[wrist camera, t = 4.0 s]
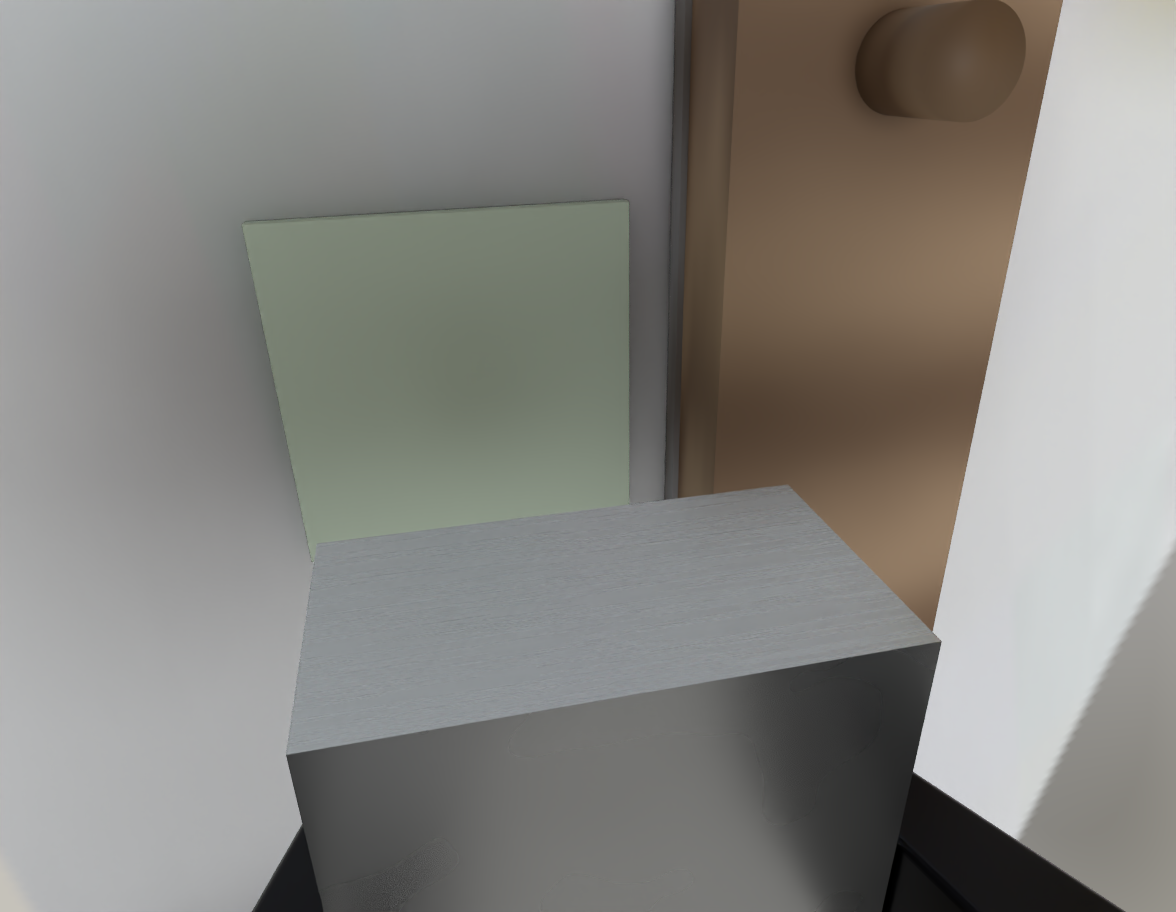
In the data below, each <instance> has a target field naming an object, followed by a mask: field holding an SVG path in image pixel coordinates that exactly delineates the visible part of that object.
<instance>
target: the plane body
mask: <svg viewBox="0 0 1176 912" xmlns="http://www.w3.org/2000/svg"><path fill="white" fill-rule="evenodd" d="M1062 2H1063V0H676V10H675V56H674V102H673V148H672V194H671V240H670V286H669V332H668V378H667V424H666V470H665V500H669V499H677V498H685V497H693V496H701V495H709V494H717V493H725V492H733V491H741V490H749V489H757V488H765V487H773V486H781V485H789V486H790V487H791V488H792V489H793V490H794V491H795V492H796V493H797V494H798V495H799V496H800V497H801V498H802V500H803V501H804V502H805V503H806V504H807V505H808V506H809V507H810V508H811V509H812V510H813V511H814V512H815V513H816V514H817V515H818V516H819V517H820V518H821V519H822V520H823V521H824V522H825V523H826V524H827V525H828V526H829V527H830V528H831V529H832V530H833V531H834V532H835V533H836V534H837V535H838V536H839V537H840V538H841V539H842V540H843V541H844V542H845V543H846V544H847V545H848V546H849V547H850V548H851V549H852V550H853V552H854V553H855V554H856V555H857V556H858V557H859V558H860V559H861V560H862V561H863V562H864V563H865V564H866V565H867V566H868V567H869V568H870V569H871V570H872V571H873V572H874V573H875V574H876V575H877V576H878V577H879V578H880V579H881V580H882V581H883V582H884V583H885V584H886V585H887V586H888V587H889V588H890V589H891V590H892V591H893V592H894V593H895V594H896V595H897V596H898V597H899V598H900V599H901V600H902V601H903V602H904V603H905V605H906V606H907V607H908V608H909V609H910V610H911V611H912V612H913V613H914V614H915V615H916V616H917V617H918V618H919V619H920V620H921V621H922V622H923V623H924V624H925V625H926V626H927V627H928V628H929V629H930V630H931V631H933V626H934V621H935V617H936V612H937V607H938V602H939V597H940V592H941V588H942V583H943V578H944V573H945V568H946V563H947V558H948V554H949V549H950V544H951V539H952V534H953V529H954V525H955V520H956V515H957V510H958V505H959V500H960V496H961V491H962V486H963V481H964V476H965V471H966V467H967V462H968V457H969V452H970V447H971V442H972V438H973V433H974V428H975V423H976V418H977V413H978V409H979V404H980V399H981V394H982V389H983V384H984V380H985V375H986V370H987V365H988V360H989V355H990V351H991V346H992V341H993V336H994V331H995V326H996V322H997V317H998V312H999V307H1000V302H1001V297H1002V293H1003V288H1004V283H1005V278H1006V273H1007V268H1008V264H1009V259H1010V254H1011V249H1012V244H1013V239H1014V235H1015V230H1016V225H1017V220H1018V215H1019V210H1020V205H1021V201H1022V196H1023V191H1024V186H1025V181H1026V176H1027V172H1028V167H1029V162H1030V157H1031V152H1032V147H1033V143H1034V138H1035V133H1036V128H1037V123H1038V118H1039V114H1040V109H1041V104H1042V99H1043V94H1044V89H1045V85H1046V80H1047V75H1048V70H1049V65H1050V60H1051V56H1052V51H1053V46H1054V41H1055V36H1056V31H1057V27H1058V22H1059V17H1060V12H1061V7H1062Z"/></svg>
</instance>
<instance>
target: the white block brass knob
mask: <svg viewBox="0 0 1176 912" xmlns="http://www.w3.org/2000/svg"><path fill="white" fill-rule="evenodd" d="M941 642H942V641H941V640H940V639H939V638H938V637H937V636H936V635H935V634H934V633H933V632H932V631H931V630H930V629H929V628H928V627H927V626H926V625H925V624H924V623H923V622H922V621H921V620H920V619H919V618H918V617H917V616H916V615H915V614H914V613H913V612H912V611H911V610H910V609H909V608H908V607H907V606H906V605H905V603H904V602H903V601H902V600H901V599H900V598H899V597H898V596H897V595H896V594H895V593H894V592H893V591H892V590H891V589H890V588H889V587H888V586H887V585H886V584H885V583H884V582H883V581H882V580H881V579H880V578H879V577H878V576H877V575H876V574H875V573H874V572H873V571H872V570H871V569H870V568H869V567H868V566H867V565H866V564H865V563H864V562H863V561H862V560H861V559H860V558H859V557H858V556H857V555H856V554H855V553H854V552H853V550H852V549H851V548H850V547H849V546H848V545H847V544H846V543H845V542H844V541H843V540H842V539H841V538H840V537H839V536H838V535H837V534H836V533H835V532H834V531H833V530H832V529H831V528H830V527H829V526H828V525H827V524H826V523H825V522H824V521H823V520H822V519H821V518H820V517H819V516H818V515H817V514H816V513H815V512H814V511H813V510H812V509H811V508H810V507H809V506H808V505H807V504H806V503H805V502H804V501H803V500H802V498H801V497H800V496H799V495H798V494H797V493H796V492H795V491H794V490H793V489H792V488H791V487H790V486H789V485H781V486H773V487H765V488H757V489H749V490H741V491H733V492H725V493H717V494H709V495H701V496H693V497H685V498H677V499H669V500H661V501H653V502H645V503H637V504H629V505H621V506H613V507H605V508H597V509H589V510H581V511H573V512H565V513H557V514H549V515H541V516H533V517H525V518H517V519H509V520H501V521H493V522H485V523H477V524H469V525H461V526H453V527H445V528H437V529H429V530H421V531H413V532H405V533H397V534H389V535H381V536H373V537H365V538H357V539H349V540H341V541H333V542H325V543H317V545H316V552H315V559H314V566H313V573H312V580H311V587H310V594H309V601H308V607H307V614H306V621H305V628H304V635H303V642H302V649H301V656H300V663H299V669H298V676H297V683H296V690H295V697H294V704H293V711H292V718H291V725H290V731H289V738H288V745H287V752H286V757H287V761H288V765H289V769H290V773H291V778H292V782H293V786H294V790H295V794H296V798H297V803H298V807H299V811H300V815H301V819H302V823H303V828H304V832H305V836H306V840H307V844H308V848H309V853H310V857H311V861H312V865H313V869H314V873H315V878H316V882H317V886H318V890H319V894H320V898H321V903H322V907H323V911H324V912H882V908H883V904H884V899H885V895H886V890H887V886H888V881H889V877H890V872H891V868H892V863H893V859H894V854H895V850H896V845H897V840H898V836H899V831H900V827H901V822H902V818H903V813H904V809H905V804H906V800H907V795H908V791H909V786H910V782H911V777H912V773H913V768H914V764H915V759H916V755H917V750H918V746H919V741H920V737H921V732H922V728H923V723H924V719H925V714H926V709H927V705H928V700H929V696H930V691H931V687H932V682H933V678H934V673H935V669H936V664H937V660H938V655H939V651H940V646H941Z"/></svg>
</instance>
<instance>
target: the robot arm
mask: <svg viewBox="0 0 1176 912" xmlns="http://www.w3.org/2000/svg"><path fill="white" fill-rule="evenodd" d="M252 912H324V911H323V907H322V903H321V898H320V894H319V890H318V886H317V882H316V878H315V873H314V869H313V865H312V861H311V857H310V853H309V848H308V844H307V840H306V836H305V832H304V828H303V824H302V825H301V827H300V829H299V831H298V832H297V834H296V836H295V838H294V839H293V841H292V843H291V845H290V846H289V848H288V850H287V852H286V853H285V855H284V857H283V859H282V860H281V862H280V864H279V866H278V867H277V869H276V871H275V873H274V874H273V876H272V878H271V879H270V881H269V883H268V885H267V886H266V888H265V890H264V892H263V893H262V895H261V897H260V899H259V900H258V902H257V904H256V906H255V907H254V909H253V911H252ZM882 912H1125V911H1124V910H1122V909H1121V908H1119V907H1117V906H1116V905H1115V904H1113V903H1111V902H1110V901H1109V900H1107V899H1105V898H1104V897H1102V896H1101V895H1099V894H1098V893H1096V892H1095V891H1093V890H1092V889H1090V888H1089V887H1087V886H1086V885H1084V884H1083V883H1081V882H1080V881H1078V880H1077V879H1075V878H1074V877H1072V876H1070V875H1069V874H1068V873H1066V872H1064V871H1063V870H1061V869H1060V868H1058V867H1057V866H1055V865H1054V864H1052V863H1051V862H1049V861H1048V860H1046V859H1045V858H1043V857H1042V856H1040V855H1039V854H1037V853H1036V852H1034V851H1032V850H1031V849H1030V848H1028V847H1026V846H1025V845H1023V844H1022V843H1020V842H1019V841H1017V840H1016V839H1014V838H1013V837H1011V836H1010V835H1008V834H1007V833H1005V832H1004V831H1002V830H1001V829H999V828H998V827H996V826H995V825H993V824H992V823H990V822H988V821H987V820H985V819H984V818H982V817H981V816H979V815H978V814H976V813H975V812H973V811H972V810H970V809H969V808H967V807H966V806H964V805H963V804H961V803H960V802H958V801H957V800H955V799H954V798H952V797H951V796H949V795H947V794H946V793H944V792H943V791H941V790H940V789H938V788H937V787H935V786H934V785H932V784H931V783H929V782H928V781H926V780H925V779H923V778H922V777H920V776H919V775H917V774H916V773H914V772H913V773H912V777H911V782H910V786H909V791H908V795H907V800H906V804H905V809H904V813H903V818H902V822H901V827H900V831H899V836H898V840H897V845H896V850H895V854H894V859H893V863H892V868H891V872H890V877H889V881H888V886H887V890H886V895H885V899H884V904H883V908H882Z"/></svg>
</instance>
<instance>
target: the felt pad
mask: <svg viewBox="0 0 1176 912" xmlns="http://www.w3.org/2000/svg"><path fill="white" fill-rule="evenodd" d="M242 229H243V234H244V239H245V244H246V249H247V253H248V258H249V263H250V268H251V273H252V277H253V282H254V287H255V292H256V297H257V301H258V306H259V311H260V316H261V321H262V325H263V330H264V335H265V340H266V345H267V350H268V354H269V359H270V364H271V369H272V374H273V378H274V383H275V388H276V393H277V398H278V402H279V407H280V412H281V417H282V422H283V426H284V431H285V436H286V441H287V446H288V450H289V455H290V460H291V465H292V470H293V475H294V479H295V484H296V489H297V494H298V499H299V503H300V508H301V513H302V518H303V523H304V527H305V532H306V537H307V542H308V547H309V551H310V556H311V561H312V562H314V559H315V552H316V545H317V543H325V542H333V541H341V540H349V539H357V538H365V537H373V536H381V535H389V534H397V533H405V532H413V531H421V530H429V529H437V528H445V527H453V526H461V525H469V524H477V523H485V522H493V521H501V520H509V519H517V518H525V517H533V516H541V515H549V514H557V513H565V512H573V511H581V510H589V509H597V508H605V507H613V506H621V505H629V202H628V201H627V200H625V199H620V200H603V201H586V202H569V203H552V204H535V205H518V206H501V207H485V208H468V209H451V210H434V211H417V212H400V213H383V214H366V215H349V216H332V217H315V218H299V219H282V220H265V221H248V222H244V223H243V224H242Z"/></svg>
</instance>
